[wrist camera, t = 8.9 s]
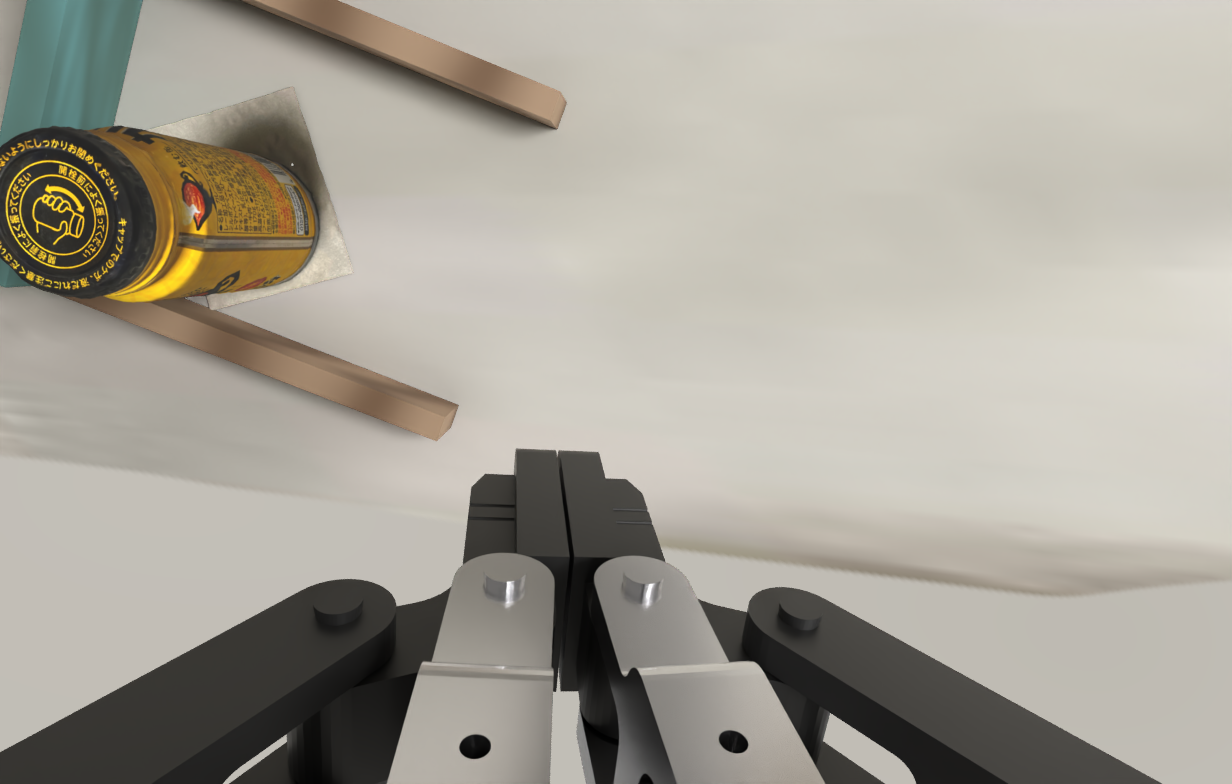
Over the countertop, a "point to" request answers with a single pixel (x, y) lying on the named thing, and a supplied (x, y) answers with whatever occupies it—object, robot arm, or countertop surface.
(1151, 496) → the countertop surface
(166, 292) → the condiment
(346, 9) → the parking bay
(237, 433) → the countertop surface
